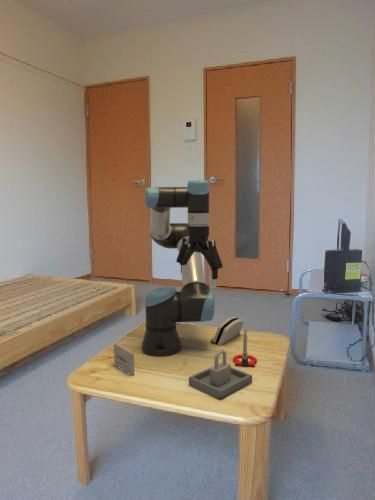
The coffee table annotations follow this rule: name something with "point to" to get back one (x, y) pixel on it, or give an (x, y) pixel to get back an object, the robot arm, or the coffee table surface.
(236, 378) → the tray
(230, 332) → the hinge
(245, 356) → the tow hook
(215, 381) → the padlock
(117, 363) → the cassette
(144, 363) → the coffee table surface
